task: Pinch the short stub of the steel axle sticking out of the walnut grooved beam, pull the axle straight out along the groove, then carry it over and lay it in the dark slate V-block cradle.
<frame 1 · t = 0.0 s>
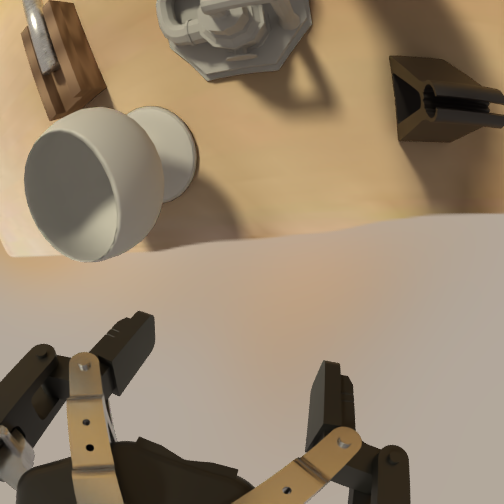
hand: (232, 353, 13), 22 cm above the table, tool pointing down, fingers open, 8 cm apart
chalice: (152, 154, 33), on the table
axle: (38, 26, 22), point 4 cm above the table, touching grooved beam
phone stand: (420, 98, 24), on the table
grooved beam: (71, 56, 28), on the table
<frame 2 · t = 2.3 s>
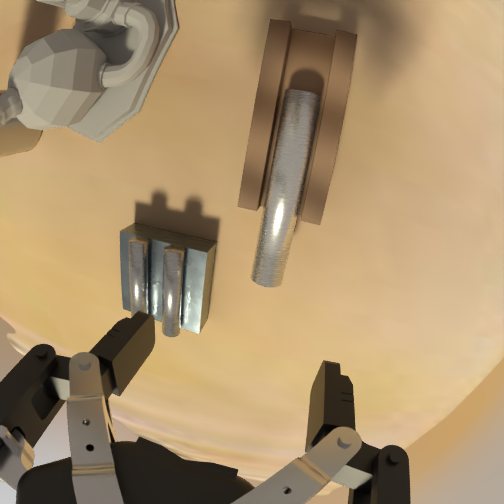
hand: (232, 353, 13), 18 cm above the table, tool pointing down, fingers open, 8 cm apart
grey faceted sculpture: (110, 55, 26), on the table
axle: (284, 190, 24), point 4 cm above the table, touching grooved beam
V-block: (170, 272, 34), on the table
grooved beam: (300, 120, 25), on the table
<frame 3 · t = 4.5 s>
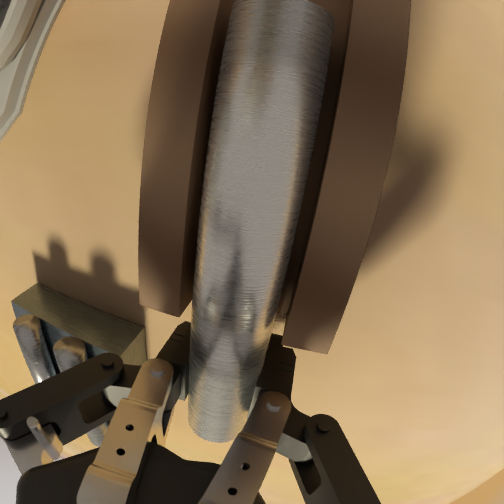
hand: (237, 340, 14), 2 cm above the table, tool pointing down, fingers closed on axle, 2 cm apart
grey faceted sculpture: (3, 36, 12), on the table
axle: (239, 275, 9), point 4 cm above the table, touching gripper, grooved beam
V-block: (93, 355, 20), on the table
grooved beam: (287, 96, 11), on the table
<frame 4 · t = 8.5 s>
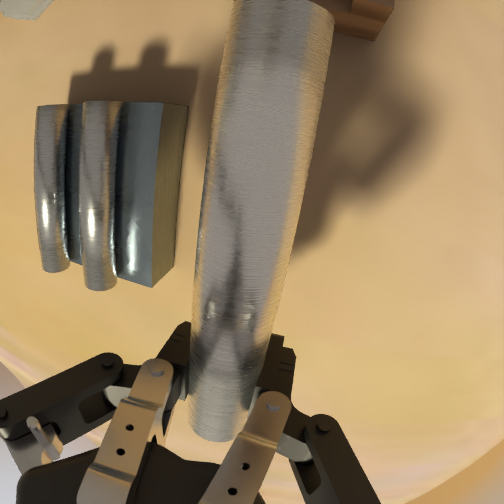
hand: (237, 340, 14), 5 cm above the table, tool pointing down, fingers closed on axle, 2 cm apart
axle: (239, 275, 9), point 8 cm above the table, touching gripper
V-block: (112, 180, 18), on the table
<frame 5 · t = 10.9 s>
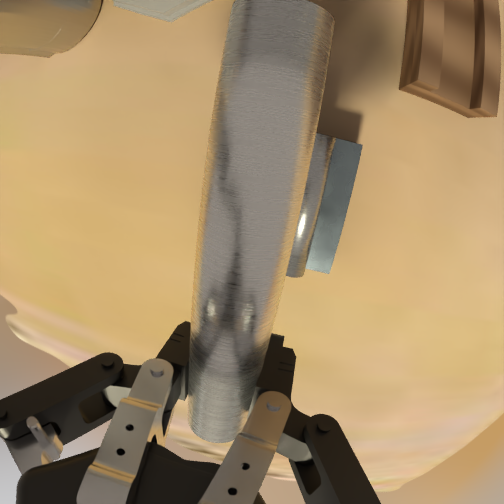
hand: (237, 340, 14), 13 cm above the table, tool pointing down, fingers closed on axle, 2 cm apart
axle: (239, 276, 9), point 16 cm above the table, touching gripper
V-block: (282, 189, 24), on the table
grooved beam: (442, 24, 16), on the table
when the fingers open (6 cm above the table, at t = 12.8 s): axle drops 3 cm, resting on V-block.
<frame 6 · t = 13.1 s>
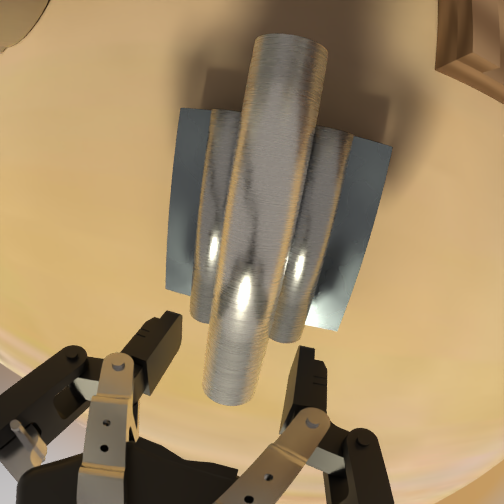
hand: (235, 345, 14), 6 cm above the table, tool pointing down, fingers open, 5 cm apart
axle: (255, 244, 12), point 6 cm above the table, touching V-block
V-block: (273, 210, 17), on the table
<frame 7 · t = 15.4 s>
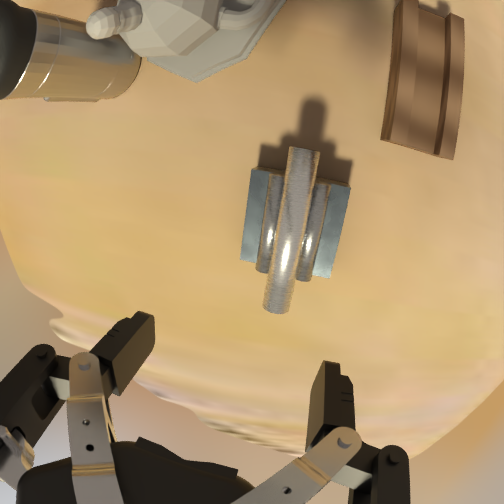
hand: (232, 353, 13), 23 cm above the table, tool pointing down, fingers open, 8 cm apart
grey faceted sculpture: (213, 5, 26), on the table
axle: (290, 233, 28), point 6 cm above the table, touching V-block
V-block: (295, 217, 33), on the table
grooved beam: (418, 80, 24), on the table
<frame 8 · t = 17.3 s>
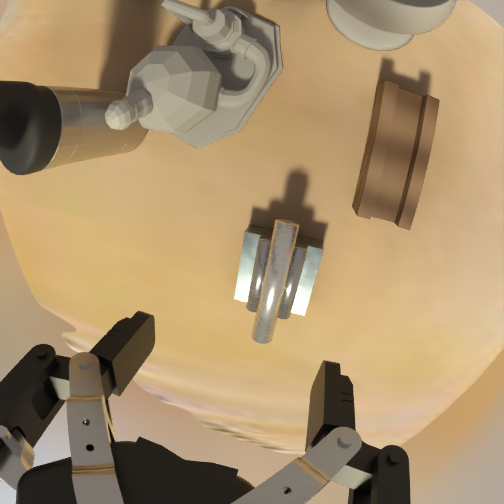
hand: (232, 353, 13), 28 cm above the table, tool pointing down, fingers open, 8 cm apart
chalice: (372, 12, 27), on the table
grey faceted sculpture: (213, 73, 34), on the table
axle: (273, 285, 37), point 6 cm above the table, touching V-block
V-block: (279, 266, 42), on the table
grooved beam: (391, 153, 33), on the table
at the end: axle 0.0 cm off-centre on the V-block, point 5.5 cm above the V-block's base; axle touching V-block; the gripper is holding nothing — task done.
